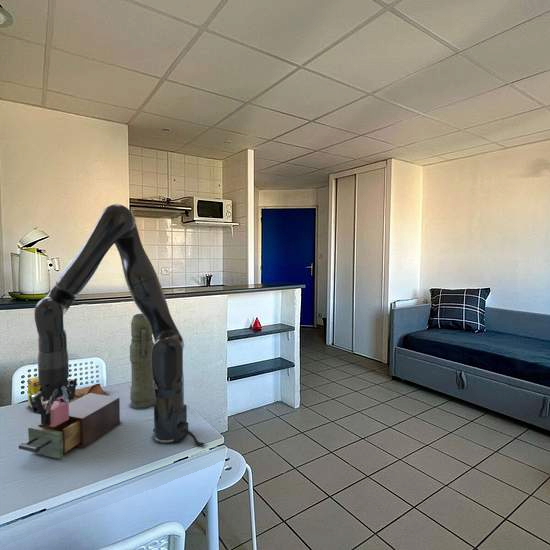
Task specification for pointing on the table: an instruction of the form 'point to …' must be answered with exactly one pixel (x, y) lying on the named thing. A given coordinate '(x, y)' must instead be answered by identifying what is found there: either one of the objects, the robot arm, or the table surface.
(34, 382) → the supplement box
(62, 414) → the block
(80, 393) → the sunglasses case
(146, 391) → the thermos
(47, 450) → the drawer
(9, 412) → the table surface
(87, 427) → the cabinet
